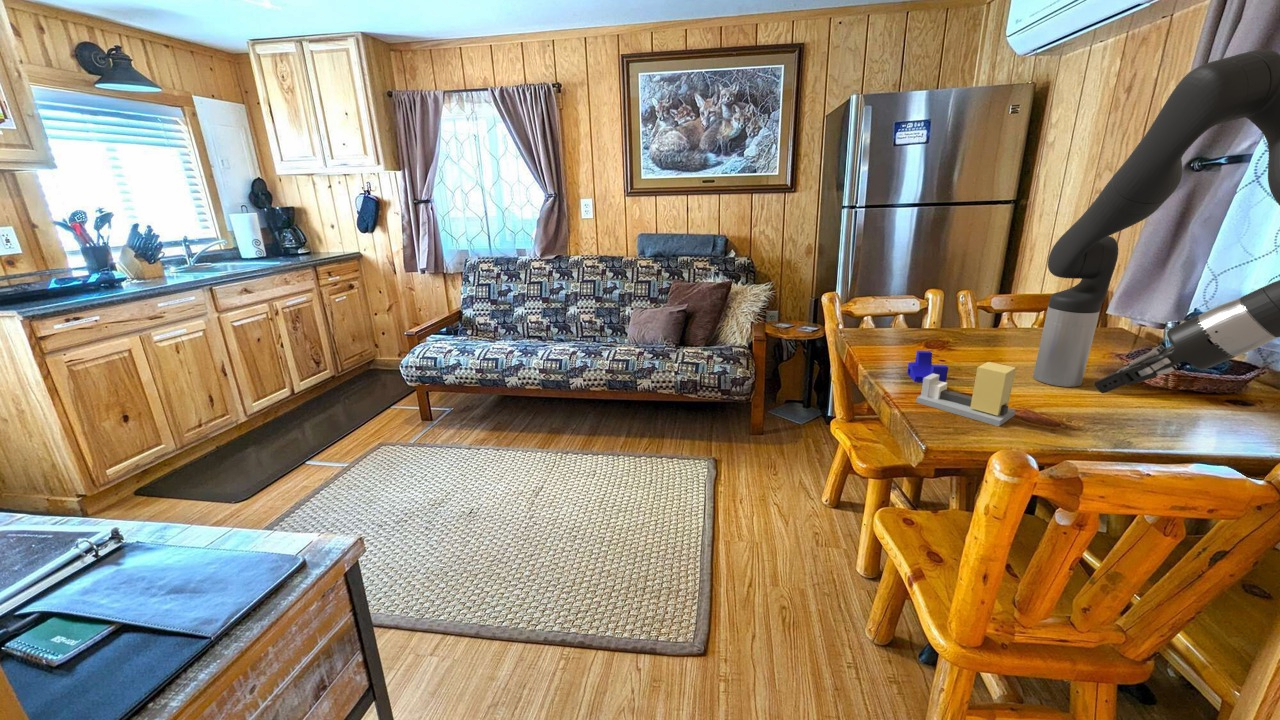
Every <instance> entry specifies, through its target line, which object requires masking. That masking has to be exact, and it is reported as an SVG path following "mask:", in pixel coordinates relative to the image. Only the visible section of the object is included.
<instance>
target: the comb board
mask: <svg viewBox="0 0 1280 720" xmlns="http://www.w3.org/2000/svg"><path fill="white" fill-rule="evenodd" d="M939 376H940V375H938V374H934V373H933V374H931V375H928V376H926V377H924V378H923V383H921V384H922V386H921V392H920V395H918V396H917V397H916V401H915V403H917V404H920V405H923V406H928V407H931V408H934V409H937V410H941V411H944V412H947V413H950V414H955V415H958V416H962V417H964V418H968V419H972V420H975V421H978V422H982V423H986V424H988V425H992V426H996V427H1000V426H1002V425H1004V423H1006V422H1007V421H1009V420H1010V419H1012V418H1013V417H1014V416H1015V415H1016V409H1014V408H1010V407H1009V405H1008V406H1006V405H1002V406H1001V411H1000V414H999V415H998V416H997V415H993V414H989V413H986V412H982V411H979V410H975V409H971V408H970V406H971V401H972V396H971V395H967V394H963V393H960V392H956V391H952V390H947V388H948V382H947V381H946V382H942V381H939Z"/></svg>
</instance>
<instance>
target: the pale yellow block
mask: <svg viewBox="0 0 1280 720" xmlns="http://www.w3.org/2000/svg"><path fill="white" fill-rule="evenodd" d="M1016 370H1017V368H1016V367H1014V366H1010V365H1005V364H1001V363H996V362H991V361H987V362H985V363H983V364H981V365H978V366H977V368H976V374H975V378H974V379H975V381H974V386H973V391H972V401H971V406H970V408H971V409H975V410H979V411H982V412H986V413H989V414H993V415H997V416H998V415H999V414H1000V411H1001V406H1002V405H1006V406H1009V402H1010V398H1011V394H1012V390H1013V383H1014V379H1015V375H1016Z"/></svg>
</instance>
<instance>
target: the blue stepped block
mask: <svg viewBox="0 0 1280 720" xmlns="http://www.w3.org/2000/svg"><path fill="white" fill-rule="evenodd" d="M932 359H933V352H931V351H929V350H928V351H927V350H917V351H916V355H915V362H910V361H908V367H907V372H906V373H907V375H908V376H909V377H910V379H912V380H913V381H912V382H914V383H921V384H923V378H924V377H926V376H928V375H931V374H933V373H934V374H938V375H940V376H939V381H942V382H946V383H947V377H948V372H949V366H947V365H946V364H932V363H933V361H932Z"/></svg>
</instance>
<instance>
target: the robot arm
mask: <svg viewBox="0 0 1280 720" xmlns="http://www.w3.org/2000/svg"><path fill="white" fill-rule="evenodd" d="M1244 118H1246V119H1247V120H1249V121H1250V122H1251V123H1252V124H1253V125H1255V126H1256V128H1258V130H1259V131H1260V132H1261V133H1262V135H1263V137H1264V138H1265V139H1266V143H1267V148H1268V162H1267V163H1268V164H1267V181H1268V182H1267V183H1268V188H1269V190H1270V192H1271V195H1272V196H1273V198H1274V200H1275V202H1277V204H1278V205H1279V206H1280V53H1278V52H1276V51H1274V50H1272V49H1271V50H1270V49H1255V50H1251V51H1247V52H1242V53H1241V52H1240V53H1239V54H1235V55H1231V56H1228V57H1227V56H1226V57H1225V58H1221V59H1217V60H1214V61H1211V62H1207V63H1204V64H1201V65H1199V66H1197V67H1195V68H1193V69H1192V70H1191V71H1189V72H1188V73H1187V74H1185V76H1184V77H1183V78H1182V79H1181V80H1180V81H1179V82H1178V84H1176V86H1175V88H1174V89H1173V90H1172V92H1171V93H1170V95H1169V96H1168V98H1167V100H1166V101H1165V103H1164V105H1163V106H1162V107H1161V110H1159V113H1158V114H1157V116H1156V118H1155V120H1154V121H1153V123H1152V124H1151V125H1150V126H1149V129H1148V131H1147V132H1146V134H1145V135H1144V136H1143V137H1142V139H1141V140H1140V141H1139V143H1138V144H1137V146H1136V147H1135V148H1134V150H1133V151H1132V152H1131V153H1130V155H1129V156H1128V157H1127V159H1126V160H1125V162H1124V163H1123V164H1122V165H1121V166H1120V167H1119V168H1118V170H1116V172H1115V173H1114V174H1113V176H1112V177H1111V178H1110V180H1109V181H1108V182H1107V183H1106V185H1105V186H1104V187H1103V188H1102V190H1101V192H1100V193H1099V194H1098V196H1097V197H1096V198H1095V200H1094V201H1093V202H1092V204H1090V206H1089V207H1088V208H1087V209H1086V210H1085V211H1084V212H1083V214H1082V216H1080V217H1079V218H1078V219H1077V220H1076V221H1075V222H1074V223H1073V224H1072V225H1071V226H1070V227H1069V229H1067V231H1065V232H1064V233H1063V235H1061V236H1060V237H1059V238H1058V240H1057V241H1056V243H1054V245H1053V246H1052V249H1051V251H1050V253H1049V255H1048V258H1047V269H1048V271H1049V272H1050V274H1051V275H1053V276H1054V277H1056V278H1057V277H1058V278H1061V279H1076V280H1078V279H1080V282H1078V283H1077V284H1076V285H1074V286H1072V287H1070V288H1067V289H1065V290H1061V291H1057V292H1055V293H1052V294H1051V296H1049V297H1050V298H1049V302H1048V306H1047V311H1046V315H1045V321H1044V325H1043V329H1042V333H1041V338H1040V341H1039V342H1040V343H1039V346H1038V347H1039V348H1038V352H1037V357H1036V361H1035V366H1034V370H1033V374H1032V377H1033V378H1034V380H1036V381H1038V382H1041V383H1044V384H1047V385H1050V386H1051V385H1052V386H1056V387H1057V386H1058V387H1065V388H1066V387H1068V388H1071V387H1075V388H1076V387H1079V386H1081V385H1082V384H1083V380H1084V375H1085V372H1086V369H1087V368H1086V367H1087V364H1088V360H1089V357H1090V353H1091V348H1092V343H1093V342H1094V341H1093V339H1094V336H1095V332H1096V327H1097V323H1098V320H1099V315H1100V312H1101V308H1102V305H1103V303H1104V301H1105V299H1106V297H1107V294H1108V291H1109V288H1110V284H1111V281H1112V278H1113V274H1114V273H1115V270H1116V265H1117V263H1118V259H1119V258H1118V257H1119V244H1118V242H1117V240H1116V239H1115V238H1114V237H1113V236H1112V235H1115V234H1117V233H1119V232H1121V231H1123V230H1125V229H1127V228H1130V227H1132V226H1134V225H1137V224H1138V223H1140V222H1141V221H1145V219H1147V218H1149V217H1150V216H1152V215H1153V214H1154V213H1155V212H1156V211H1158V209H1159V208H1160V207H1161V206H1162V205H1163V204H1164V203H1166V201H1167V200H1168V199H1169V198H1170V197H1171V195H1173V194H1174V192H1175V191H1176V190H1177V188H1178V186H1180V183H1181V180H1182V176H1183V161H1182V158H1183V156H1184V154H1185V153H1186V152H1187V151H1188V150H1189V148H1190V147H1191V146H1193V144H1194V143H1195V142H1196V141H1197V140H1198V139H1199V138H1200V137H1201V136H1202V135H1204V134H1205V133H1206V132H1207V131H1209V130H1210V129H1212V128H1213V127H1215V126H1218V125H1220V124H1225V123H1228V122H1233V121H1237V120H1239V119H1240V120H1241V119H1244ZM1166 336H1167V338H1168V341H1169V343H1170V344H1172V345H1169V346H1168V347H1165V346H1164V345H1163V344H1162V345H1161V344H1160V345H1159V346H1157V347H1154V348H1152V349H1151V350H1150V351H1149V352H1147V353H1145V354H1142V355H1140V356H1139V357H1136V358H1134V359H1133V361H1131V362H1128V363H1126V365H1125V366H1122V367H1120V368H1119V370H1117V371H1116V372H1113V373H1111V374H1108V375H1107V376H1104V377H1102V378H1101V379H1097V380H1096V382H1095V383H1094V385H1093V386H1095V388H1096V389H1097V391H1098V392H1099V393H1100V394H1106V393H1108V392H1111V391H1113V390H1116V389H1117V388H1120V387H1122V386H1128V387H1129V386H1133V385H1134V384H1138V383H1141V382H1144V381H1145V382H1146V381H1148V380H1151V379H1156V378H1157V376H1160V375H1166V374H1169V373H1171V372H1175V370H1178V367H1180V366H1181V363H1182V362H1186V363H1189V364H1190V366H1192V367H1193V368H1194V369H1196V370H1201V371H1203V370H1207V369H1209V368H1212V367H1215V366H1217V365H1220V364H1223V363H1225V362H1227V361H1230V360H1232V359H1234V358H1237V357H1239V356H1241V355H1244V354H1246V353H1249V352H1251V351H1254V350H1256V349H1258V348H1261V347H1263V346H1264V345H1266V344H1268V343H1270V342H1272V341H1273V340H1276V339H1278V338H1280V279H1278V280H1275V281H1274V282H1272V283H1271V282H1270V283H1269V284H1265V286H1262V287H1260V288H1258V289H1256V290H1254V291H1251V292H1249V293H1247V294H1245V295H1243V296H1241V297H1239V298H1236V299H1235V300H1234V299H1233V300H1232V301H1228V302H1225V303H1222V304H1220V305H1218V306H1216V307H1214V308H1211V309H1209V310H1207V311H1205V312H1203V313H1201V314H1198V315H1196V316H1195V317H1192V318H1190V319H1188V320H1185V321H1184V322H1182V323H1180V324H1177V325H1175V326H1173V327H1171V328H1169V329H1168V330H1167V333H1166Z"/></svg>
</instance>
